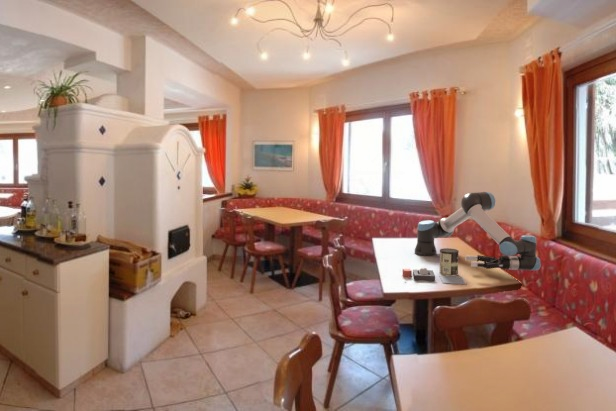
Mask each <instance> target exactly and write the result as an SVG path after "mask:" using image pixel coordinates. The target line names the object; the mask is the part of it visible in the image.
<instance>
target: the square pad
mask: <svg viewBox="0 0 616 411" xmlns="http://www.w3.org/2000/svg"><path fill="white" fill-rule="evenodd" d="M438 277H439V279H440V281H441V283H442V284H446V285H447V284H451V285H467V282H466V281H465V280H464V278H463V276H445V275H438Z"/></svg>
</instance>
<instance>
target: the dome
mask: <svg viewBox="0 0 616 411" xmlns="http://www.w3.org/2000/svg"><path fill="white" fill-rule="evenodd" d="M419 270H420V271H419V274H426V275H429V272H428V270H429V269H427V267H421V268H420V269H419Z"/></svg>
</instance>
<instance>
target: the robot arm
mask: <svg viewBox="0 0 616 411" xmlns="http://www.w3.org/2000/svg"><path fill="white" fill-rule="evenodd" d="M460 206H461V207H460V208H458V210H456V211H455V212H453V213H452V214H450V215H449V216H448V217H443V218H441V219H439V220H438V221H434V220H430V219H429V220H422V221H419V222H418V223H417V228H416V229H417V232H416V233H417V234H416V235H417V236H416V238H417V239H416V240H417V241H416V245H415V248H414V254H415V255H418V256H422V257H423V256H424V257H425V256H427V257H432V256H436V255H437V253H438V252H437V248H436V244H435V239H439V238H448V237H451V236H452V235H453V233H454V231H455V229H456V227H458V226H459V225H461V224H463V223H464V222H466V221H467V220H468V219H471V218H472V219H473V220H474V221H475V222H476V224H478V225H479V226H480V227H481V229H483V230H484V231H485V232H486V233H487V234H488V235H489V236H490V238H492V239H493V241H495V243H496V244H497V245H498V246H499V248H498V249H499V251H500V253H501V254H502V255H500V256H499V258H497V257H496V256H486V255H481V254H478V255H465V256H464V257H465V260H464V261H467V262H469V261H470V268H484V269H487V270H489V269H490V270H491V269H499V268H500V269H501V270H512V271H516V270H519V271H520V270H521V271H539V270H540V268H541V266H542V264H541V259H540V258H539V257H538V256H537V244H538V243H537V237H536V236H534V235H530V234H523V235H521V236H520V239H519V240H517V239H516V240H515V239H514V238H513V237H511V235H510V234H509V233H508V232H506V231H505V230H504V229H503V227H502V226H500V225H499V223H497V222H496V220H494V218H492V217H491V216H490V215H489V214H488V213H487V212H486V211H490V210H493V209H494V207H495V206H496V198H495V196H494V194H493V193H492V192H489V191H482V192H479V191H478V192H477V191H476V192H468V193H467V194H465V195H463V197H462V198H461V202H460ZM518 255H519V256H518Z"/></svg>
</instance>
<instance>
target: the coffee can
mask: <svg viewBox="0 0 616 411" xmlns="http://www.w3.org/2000/svg"><path fill="white" fill-rule="evenodd" d="M459 252H460V251H459V250H458V249H456V248H448V247H447V248H440V249H439V274H440V276H454V277H458V275H459Z"/></svg>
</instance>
